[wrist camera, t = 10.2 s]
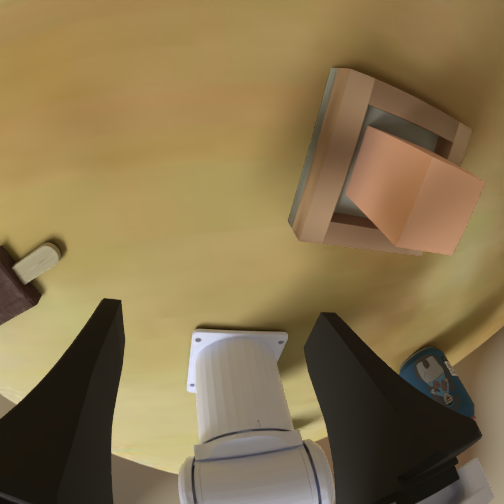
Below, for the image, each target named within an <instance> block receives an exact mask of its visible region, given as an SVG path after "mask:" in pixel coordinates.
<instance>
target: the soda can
mask: <svg viewBox="0 0 504 504" xmlns="http://www.w3.org/2000/svg"><path fill="white" fill-rule="evenodd" d="M399 376H401V377H402V378H403V379H405V380H406V381H407V382H408V383H410V384H411V385H412V386H414V387H415V388H416V389H418V390H419V391H421V392H422V393H424V394H425V395H427V396H428V397H430V398H431V399H433V400H435V401H436V402H438V403H440V404H442V405H443V406H445V407H447V408H449V409H451V410H453V411H455V412H457V413H460V414H462V415H464V416H467V417H469V418H472V419H474V420H475V419H476V417H475V416H474V403H473V402H472V400H471V398H470V396H469V395H468V393H467V391H466V389H465V388H464V386H463V384H462V383H461V381H460V379H459V377H458V376H457V374H456V373H455V371H454V369H453V368H452V366H451V364H450V363H449V361H448V360H447V358H446V356H445V355H444V353H443V352H442V351H441V350H439V349H436V348H434V347H425V348H423V349H421V350H419V351H417V352H415V353H414V354H412V355H411V356H410V357H409V358H408V359H407V360H406V361H405V362H404V363H403V364H402V366H401V367H400V374H399Z"/></svg>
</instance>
